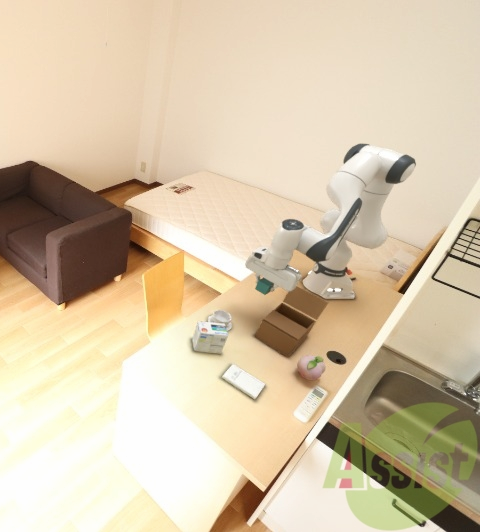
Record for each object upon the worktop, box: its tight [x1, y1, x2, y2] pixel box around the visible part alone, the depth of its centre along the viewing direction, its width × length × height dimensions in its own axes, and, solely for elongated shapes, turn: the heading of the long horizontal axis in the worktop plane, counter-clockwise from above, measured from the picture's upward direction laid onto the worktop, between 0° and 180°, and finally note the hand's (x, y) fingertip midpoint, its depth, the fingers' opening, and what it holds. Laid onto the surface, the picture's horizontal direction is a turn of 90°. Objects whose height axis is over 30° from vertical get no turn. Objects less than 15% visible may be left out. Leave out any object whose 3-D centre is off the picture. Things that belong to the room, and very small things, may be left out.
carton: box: [254, 302, 317, 358], centre depth 144 cm, size 17×14×10 cm
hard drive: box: [221, 363, 266, 400], centre depth 128 cm, size 2×8×12 cm
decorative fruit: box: [296, 354, 326, 381], centre depth 129 cm, size 9×8×10 cm
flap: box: [282, 285, 329, 321], centre depth 144 cm, size 8×14×1 cm
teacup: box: [207, 309, 233, 332], centre depth 151 cm, size 10×10×5 cm
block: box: [254, 277, 275, 296], centre depth 144 cm, size 5×5×5 cm
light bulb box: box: [191, 320, 229, 355], centre depth 138 cm, size 11×7×11 cm, turn 84°
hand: (264, 286), depth 145 cm, fingers closed on block, 4 cm apart
